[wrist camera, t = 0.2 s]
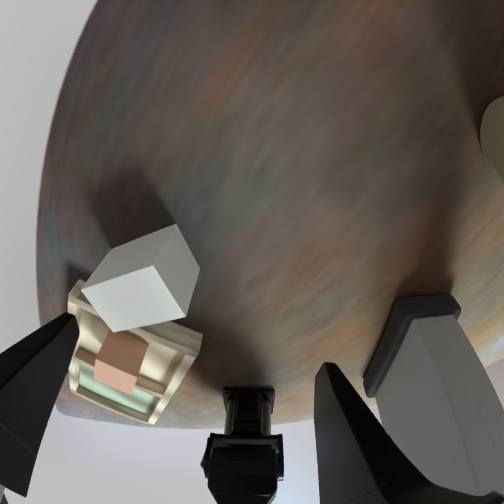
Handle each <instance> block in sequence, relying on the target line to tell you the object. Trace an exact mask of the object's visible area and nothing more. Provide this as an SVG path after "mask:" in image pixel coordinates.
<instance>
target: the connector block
mask: <svg viewBox="0 0 504 504" xmlns="http://www.w3.org/2000/svg"><path fill="white" fill-rule="evenodd" d="M199 271H200V267H199V266H198V264H197V262H196V260H195V258H194V256H193V254H192V253H191V251H190V249H189V247H188V245H187V243H186V241H185V239H184V237H183V235H182V233H181V231H180V230H179V228H178V226H177V224H174V225H171V226H169V227H166V228H163V229H161V230H158V231H156V232H153V233H150V234H148V235H145V236H143V237H140V238H138V239H135V240H132V241H130V242H127V243H125V244H123V245H120V246H118V247H115V248H113V249H111V250H110V251H109V253H108V254H107V255H106V256H105V258H104V259H103V260H102V262H101V263H100V264H99V266H98V267H97V268H96V269H95V271H94V272H93V273H92V275H91V276H90V278H89V279H88V280H87V282H86V283H85V284H84V286H83V287H82V289H81V291H82V292H83V294H84V295H85V296H86V298H87V299H88V301H89V302H90V303H91V305H92V306H93V307H94V309H95V310H96V311H97V312H98V314H99V315H100V316H101V318H102V319H103V320H104V321H105V323H106V324H107V325H108V326H109V328H110V329H111V330H112V331H113V332H118V331H123V330H128V329H133V328H137V327H142V326H147V325H152V324H156V323H161V322H165V321H170V320H174V319H179V318H183V317H186V315H187V312H188V308H189V305H190V301H191V298H192V295H193V291H194V288H195V284H196V281H197V278H198V275H199Z"/></svg>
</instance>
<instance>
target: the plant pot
mask: <svg viewBox="0 0 504 504" xmlns="http://www.w3.org/2000/svg"><path fill="white" fill-rule="evenodd" d="M480 142H481V149H482V153H483V156H484V158H485V161H486V163H487V164H488V166H489V167H490V169H491V170H492V172H493V173H494V175H495V176H496V178H497V179H498V181H499V182H500V183H501V185H502V186H503V188H504V96H502V97H500V98H498V99H496V100H494V101H493V102H491V103H490V104H489V106H488V107H487V109H486V110H485V113H484V115H483V118H482V122H481V129H480Z"/></svg>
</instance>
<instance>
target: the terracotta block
mask: <svg viewBox="0 0 504 504" xmlns="http://www.w3.org/2000/svg"><path fill="white" fill-rule="evenodd" d="M148 346H149V344H147V343H145V342H142V341H140V340H138V339H135V338H133V337H131V336H129V335H126V334H124V333H122V332H120V331H118V332H113V331H112V330H111V329H110V330H109V332H108V334H107V336H106V338H105V340H104V342H103V344H102V346H101V348H100V351H99V353H98V355H97V357H96V359H95V370H94V379H95V380H97V381H100V382H102V383H104V384H106V385H108V386H111V387H113V388H115V389H117V390H120V391H122V392H124V393H127V394H129V395H131V394H132V391H133V388H134V385H135V383H136V380H137V377H138V374H139V371H140V368H141V365H142V362H143V360H144V357H145V354H146V351H147V348H148Z"/></svg>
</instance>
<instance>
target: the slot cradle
mask: <svg viewBox="0 0 504 504" xmlns="http://www.w3.org/2000/svg"><path fill="white" fill-rule="evenodd" d="M85 283H86V282H85V281H83V280H81V279H79V280H78V281H77V283H76V284H75V285H74V287H73V288H72V289H71V291H70V292H69V293H68V313H71V314H74V315H75V316H76V319H77V322H78V326H79V330H80V335H79V338H78V341H77V344H76V347H75V350H74V353H73V357H72V360H71V363H70V366H69V379H70V390H71V392H73V393H75V394H77V395H79V396H81V397H83V398H85V399H87V400H89V401H91V402H93V403H95V404H97V405H100V406H102V407H104V408H106V409H109V410H111V411H113V412H116V413H118V414H121V415H123V416H126V417H128V418H131V419H133V420H136V421H138V422H141V423H144V424H147V425H149V426H152V427H153V425H154V424H155V422H156V420H157V419H158V417H159V416H160V414H161V413H162V411H163V409H164V408H165V406H166V405H167V403H168V402H169V400H170V398H171V397H172V395H173V394H174V392H175V390H176V389H177V387H178V386H179V384H180V383H181V381H182V379H183V378H184V376H185V375H186V373H187V371H188V370H189V368H190V367H191V365H192V363H193V362H194V360H195V359H196V357H197V356H198V354H199V352H200V347H201V342H202V337H203V334H201V333H199V332H196V331H194V330H191V329H189V328H186V327H184V326H181V325H179V324H176V323H174V322H171V321H165V322H161V323H156V324H152V325H147V326H142V327H137V328H133V329H128V330H123V331H120V332H122V333H124V334H126V335H129V336H131V337H133V338H135V339H138V340H140V341H142V342H145V343H147V344H149V346H148V348H147V351H146V354H145V357H144V360H143V362H142V365H141V368H140V371H139V374H138V377H137V380H136V383H135V385H134V388H133V391H132V394H131V395H129V394H127V393H124V392H122V391H120V390H117V389H115V388H113V387H111V386H108V385H106V384H104V383H102V382H100V381H97V380H95V379H94V370H95V359H96V357H97V355H98V353H99V351H100V348H101V346H102V344H103V342H104V340H105V338H106V336H107V334H108V332H109V330H110V328H109V326H108V325H107V324H106V323H105V321H104V320H103V319H102V318H101V316H100V315H99V314H98V312H97V311H96V310H95V309H94V307H93V306H92V305H91V303H90V302H89V301H88V299H87V298H86V296H85V295H84V294H83V292H82V291H81V289H82V287H83V286H84V284H85Z"/></svg>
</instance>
